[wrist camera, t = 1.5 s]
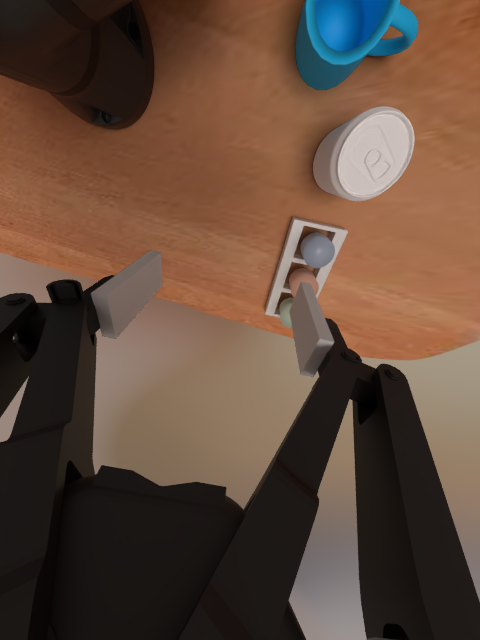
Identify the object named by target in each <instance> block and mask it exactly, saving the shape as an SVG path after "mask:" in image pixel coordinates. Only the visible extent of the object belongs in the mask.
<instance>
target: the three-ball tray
mask: <svg viewBox="0 0 480 640" xmlns="http://www.w3.org/2000/svg"><path fill="white" fill-rule="evenodd" d="M304 226H309V227H313V228H318V229H322V230H327V231H331V232H330V235H329V237H328V239H329V240H330V241H331V242H332V243H333V245H334V247H335V255H334V257H333V259H332V261H331V262H330V263H329V264H327V265H326V266H324V267H321V268H316V269H315V271H314V273H313V274H314V276H315V278H316V280H317V282H318V285H319V290H318V293H317V294H316V298H318V296H319V293H320V291H321V289H322V287H323V285H324V283H325V280H326V278H327V276H328V274H329V272H330V269H331V267H332V265H333V263H334V261H335V259H336V256H337V254H338V252H339V250H340V248H341V246H342V243H343V241H344V239H345V237H346V235H347V233H348V231H347V230H346V229H345V228H343V227H338V226H334V225H329V224H325V223H320V222H316V221H311V220H307V219H302V218H298V217H292V220H291V224H290V227H289V230H288V234H287V237H286V240H285V244H284V247H283V250H282V254H281V257H280V260H279V264H278V267H277V270H276V273H275V277H274V280H273V283H272V287H271V290H270V293H269V297H268V300H267V303H266V307H265V314H266V315H271V316H275V317H280V310H279V309H278V308H276V307H277V304H278V301H279V298H280V295H281V292H286V293H291V289H290V285H289V284H287V283H285V280H286V277H287V274H288V271H289V268H290V265H291V262H296V263H300V264H305V265H307V264H306V262H305V260H304V258H303V256H302V255H299V254H294V253H295V250H296V247H297V244H298V242H299V239H300V236H301V233H302V230H303V227H304ZM291 294H292V293H291Z"/></svg>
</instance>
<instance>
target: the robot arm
mask: <svg viewBox="0 0 480 640" xmlns="http://www.w3.org/2000/svg"><path fill="white" fill-rule="evenodd" d="M0 75H2V76H5V77H8V78H10V79H13V80H16V81H19V82H22V83H24V84H27V85H30V86H33V87H36V88H38V89H41V90H44V91H47V92H49V93H50V94H51V95H52V96H54V97H55V98H56V99H57V100H58V101H59V102H61V103H62V104H63V105H64V106H65V107H66V108H68V109H69V110H70V111H71V112H72V113H74V114H75V115H77V116H78V117H80V118H81V119H83V120H85V121H87V122H89V123H91V124H94V125H97V126H101V127H104V128H109V129H121V128H125V127H128V126H130V125H131V124H133V123H134V122H136V121H137V120H138V119H139V118H140V117H141V115H142V114H143V112H144V111H145V109H146V107H147V105H148V103H149V100H150V97H151V93H152V88H153V81H154V57H153V48H152V43H151V38H150V33H149V29H148V26H147V23H146V20H145V17H144V14H143V12H142V9H141V7H140V4H139V2H138V0H0ZM161 287H162V266H161V252H156V251H151V250H150V251H149V252H148V253H146V254H145V255H143V256H142V257H141V258H139V259H138V260H136V261H135V262H134V263H132V264H131V265H129V266H128V267H127V268H125V269H124V270H122V271H121V272H120V273H118V274H117V275H115V276H113V275H111V276H108V277H105V278H103V279H101V280H100V281H98V283H95V284H94V285H93V286H91V287H89V288H88V289H86V290H85V291H83V290H82V286H81V284H80V282H78V281H75V280H58V281H54V282H52V283H50V284H48V285H47V286H46V288H47V291H48V293H49V296H50V298H51V301H52V303H36V301H35V299H34V297H33V296H32V295H30V294H26V293H14V294H9V295H7V296H4V297H1V298H0V417H1V416H2V414H3V413H4V411H5V410H6V409H7V407H8V405H9V404H10V402H11V401H12V400H13V398H14V397H15V395H16V394H17V392H18V391H19V389H20V388H21V386H22V385H23V383H24V382H25V381H26V379H27V378H28V376H29V378H28V382H27V385H26V388H25V391H24V394H23V398H22V401H21V404H20V407H19V410H18V414H17V417H16V420H15V423H14V426H13V430H12V433H11V435H10V438H9V439H8V440H7V441H4V442H0V640H306V638H305V636H304V634H303V631H302V629H301V627H300V625H299V623H298V621H297V618H296V616H295V614H294V612H293V609H292V607H291V605H290V603H289V601H288V600H289V597H290V594H291V591H292V588H293V585H294V581H295V578H296V575H297V572H298V569H299V566H300V563H301V559H302V557H303V554H304V551H305V547H306V544H307V541H308V538H309V535H310V532H311V529H312V526H313V523H314V520H315V516H316V513H317V510H318V506H319V498H318V496H317V493H318V489H319V486H320V483H321V480H322V477H323V474H324V471H325V469H326V466H327V463H328V460H329V457H330V454H331V451H332V448H333V445H334V442H335V439H336V437H337V434H338V431H339V428H340V425H341V422H342V419H343V416H344V413H345V410H346V408H347V404H348V401H349V399H351V400H353V427H354V453H355V479H356V506H357V532H358V560H359V580H360V594H361V605H362V611H363V618H364V625H365V632H366V637H367V640H480V602H479V599H478V596H477V593H476V590H475V586H474V583H473V580H472V577H471V574H470V571H469V568H468V565H467V562H466V559H465V556H464V553H463V550H462V547H461V543H460V541H459V538H458V534H457V531H456V528H455V525H454V523H453V519H452V516H451V513H450V510H449V507H448V504H447V500H446V497H445V495H444V491H443V488H442V485H441V482H440V479H439V476H438V473H437V470H436V467H435V464H434V461H433V458H432V454H431V451H430V448H429V446H428V442H427V439H426V436H425V433H424V430H423V427H422V424H421V421H420V418H419V415H418V411H417V409H416V405H415V402H414V399H413V396H412V393H411V390H410V387H409V384H408V381H407V379H406V377H405V375H404V374H403V373H402V372H401V371H400V370H398V369H397V368H395V367H393V366H391V365H388V364H380V365H379V366H378V367H377V368H376V369H375V368H373V367H371V366H368V365H366V364H364V363H362V360H361V358H360V356H359V355H358V354H357V353H356V352H354V351H353V350H351V349H348V348H347V345H346V343H345V341H344V339H343V337H342V335H341V333H340V331H339V328H338V326H337V324H336V323H335V322H334V321H333V320H332V319H328V318H325V317H324V315H323V313H322V310H321V308H320V305H319V303H318V300H317V298H316V295H315V293H314V291H313V288H312V286H311V284H310V283H306V282H300V285H299V287H298V290H297V293H296V295H295V298H294V300H293V303H292V306H291V308H290V311H289V313H290V318H291V324H292V329H293V335H294V341H295V346H296V352H297V357H298V363H299V369H300V374H301V375H305V376H310V377H314V376H315V374H316V372H317V371H318V373H319V378H318V380H317V381H316V383H315V385H314V386H313V388H312V390H311V392H310V394H309V395H308V397H307V399H306V401H305V402H304V404H303V406H302V408H301V410H300V411H299V413H298V415H297V417H296V419H295V420H294V422H293V424H292V426H291V427H290V429H289V431H288V433H287V434H286V436H285V438H284V440H283V442H282V443H281V445H280V447H279V449H278V451H277V452H276V454H275V456H274V458H273V459H272V461H271V463H270V465H269V466H268V468H267V470H266V472H265V474H264V475H263V477H262V479H261V481H260V482H259V484H258V486H257V488H256V489H255V491H254V493H253V494H252V496H251V498H250V499H249V501H248V503H247V505H246V506H245V508H244V510H243V509H242V508H241V507H240V506H239V505H238V504H237V503H236V502H235V501H234V500H232V499H231V498H229V497H227V496H226V487H222V486H216V485H211V484H205V483H200V482H192V483H185V484H177V485H171V486H159V485H157V484H155V483H154V482H152V481H150V480H148V479H146V478H144V477H143V476H141V475H139V474H138V473H136V472H134V471H132V470H126V469H120V468H114V467H109V466H103V465H102V466H101V467H100V469H99V471H98V473H97V474H96V475H95V472H94V466H93V459H92V453H93V426H94V398H95V371H96V343H97V341H96V340H97V339H96V334H95V332H96V331H97V330H98V329H101V333H102V336H104V337H109V338H114V339H116V338H117V337H118V336H119V335H120V334H121V332H122V331H123V330H124V329H125V328H126V327H127V326H128V324H129V323H130V322H131V321H132V320H133V319H134V318H135V317H136V315H137V314H138V313H139V312H140V311H141V310H142V308H143V307H144V306H145V305H146V304H147V303H148V302H149V300H150V299H151V298H152V297H153V296H154V295H155V294H156V292H157V291H158V290H159V289H160V288H161ZM13 336H14V338H15V339H14V340H13Z"/></svg>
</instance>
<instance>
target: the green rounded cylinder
mask: <svg viewBox="0 0 480 640" xmlns="http://www.w3.org/2000/svg"><path fill="white" fill-rule="evenodd" d="M293 300H294V298H287V299H285V300H283V301H282V302H281V304H280V306H279V310H280V319H281V323H282V324H283V325H284V326H286V327H288V328H292V324H291V318H290V313H289V311H290V308H291V306H292V303H293Z"/></svg>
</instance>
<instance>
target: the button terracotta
mask: <svg viewBox="0 0 480 640" xmlns="http://www.w3.org/2000/svg"><path fill="white" fill-rule="evenodd" d="M300 282H306V283H310V284H311V286H312V288H313V291H314V293H315V295H316V294H317V293H318V290H319V285H318V282H317V280H316V278H315V276H314V274H313V272H312V271H311V270H309V269H307V268H300V269H297V270H295V271H294V272H293V273H292V274H291V275H290V277H289V285H290V289H291V293H292V296H293V297H294V298H295V295H296V293H297V290H298V287H299V285H300Z"/></svg>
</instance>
